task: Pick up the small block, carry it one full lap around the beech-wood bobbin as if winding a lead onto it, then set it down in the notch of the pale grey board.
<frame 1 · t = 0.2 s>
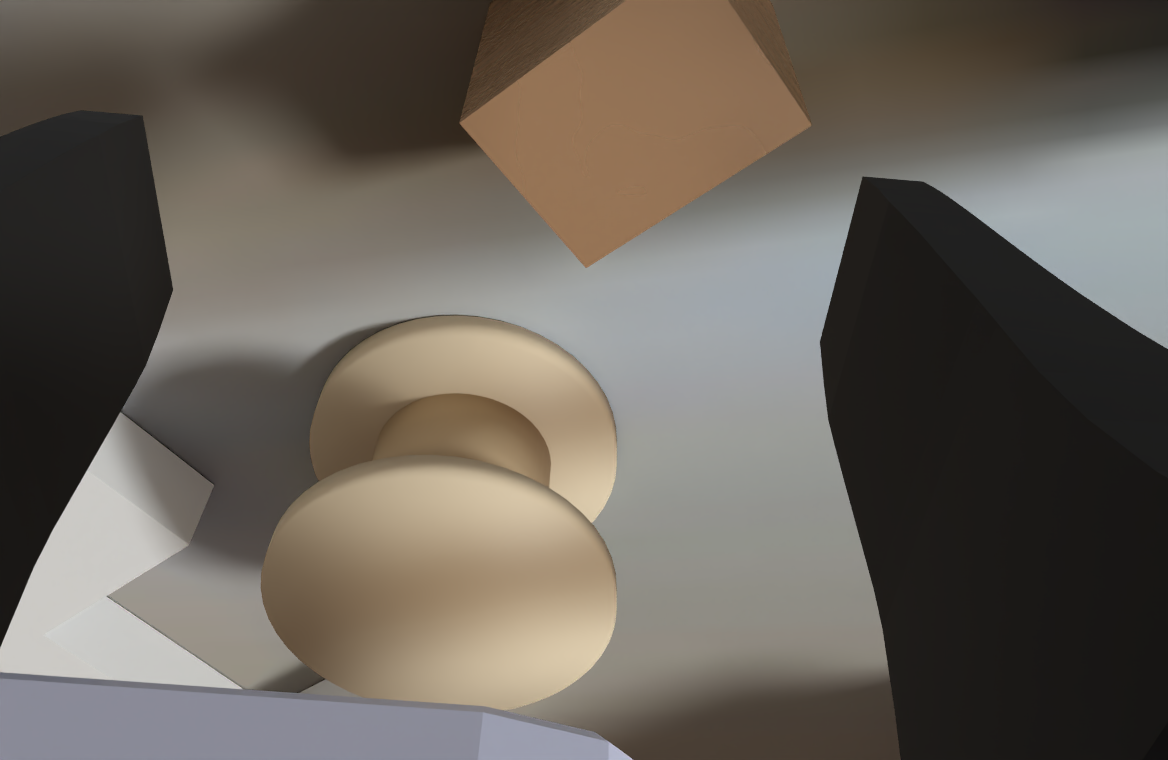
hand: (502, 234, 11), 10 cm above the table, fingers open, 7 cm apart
bobbin: (467, 438, 26), on the table
board: (241, 643, 31), on the table
block: (630, 3, 20), on the table
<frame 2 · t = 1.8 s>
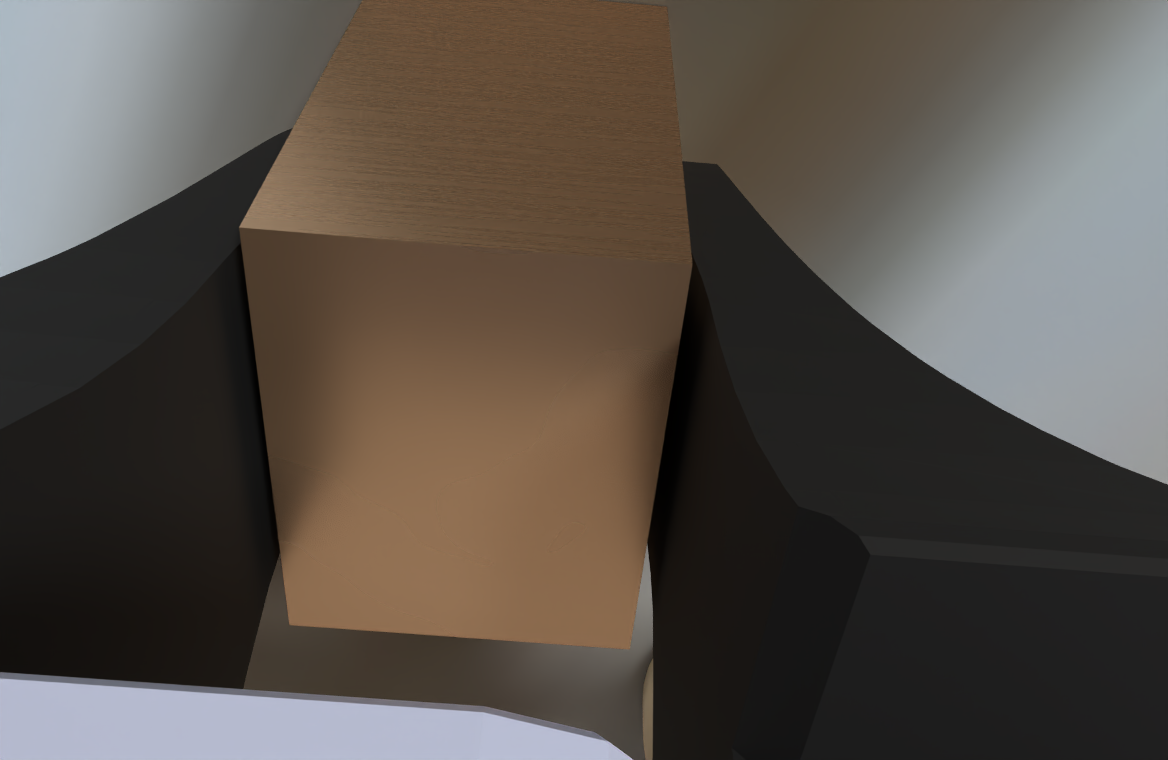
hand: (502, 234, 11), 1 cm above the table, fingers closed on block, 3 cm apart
bobbin: (856, 698, 18), on the table
block: (512, 171, 13), on the table, touching gripper
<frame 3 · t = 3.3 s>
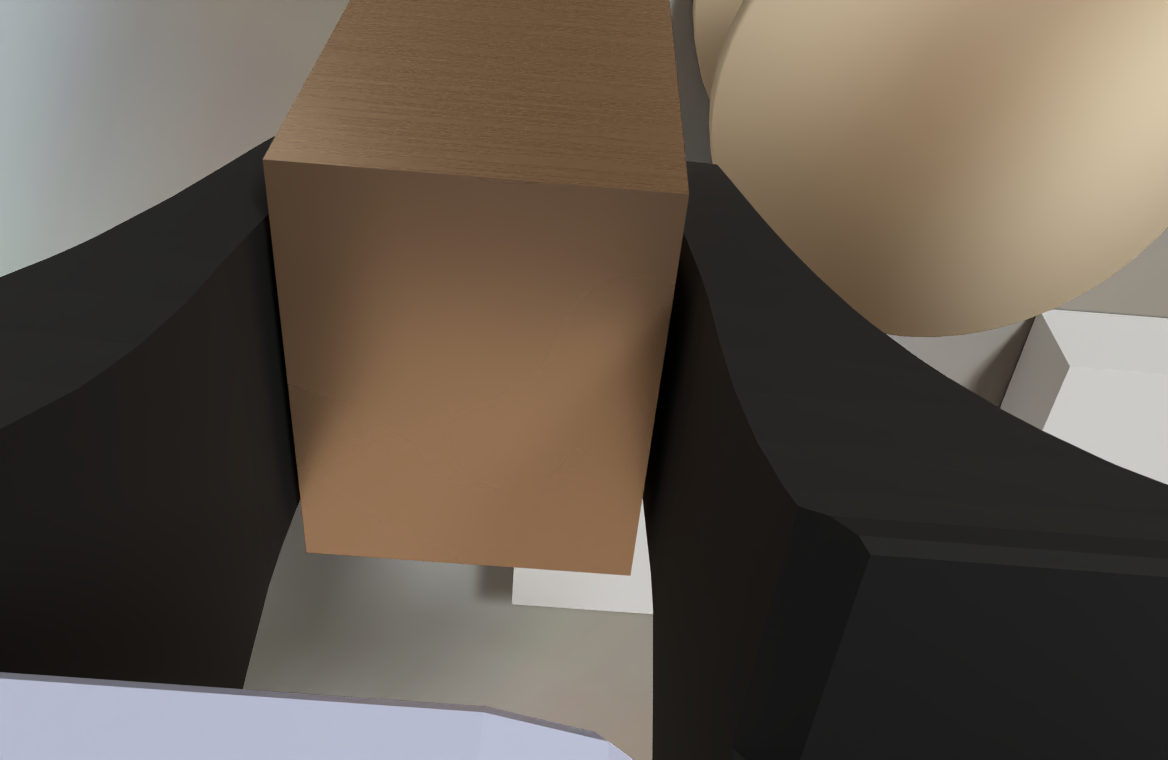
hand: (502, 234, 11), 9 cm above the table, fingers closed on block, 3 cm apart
bobbin: (895, 1, 19), on the table
board: (874, 444, 25), on the table
block: (517, 128, 13), point 7 cm above the table, touching gripper
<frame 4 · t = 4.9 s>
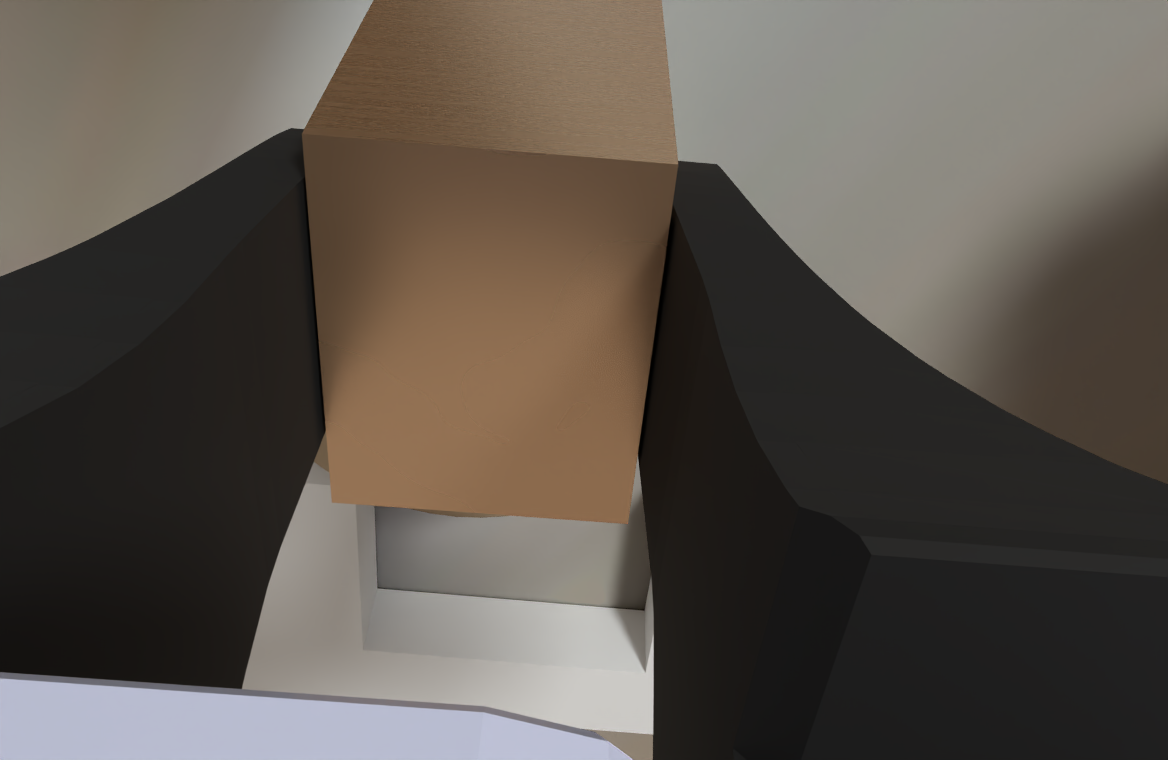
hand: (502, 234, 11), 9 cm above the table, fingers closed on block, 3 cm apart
bobbin: (490, 208, 22), on the table
board: (553, 563, 28), on the table
block: (522, 124, 14), point 6 cm above the table, touching gripper
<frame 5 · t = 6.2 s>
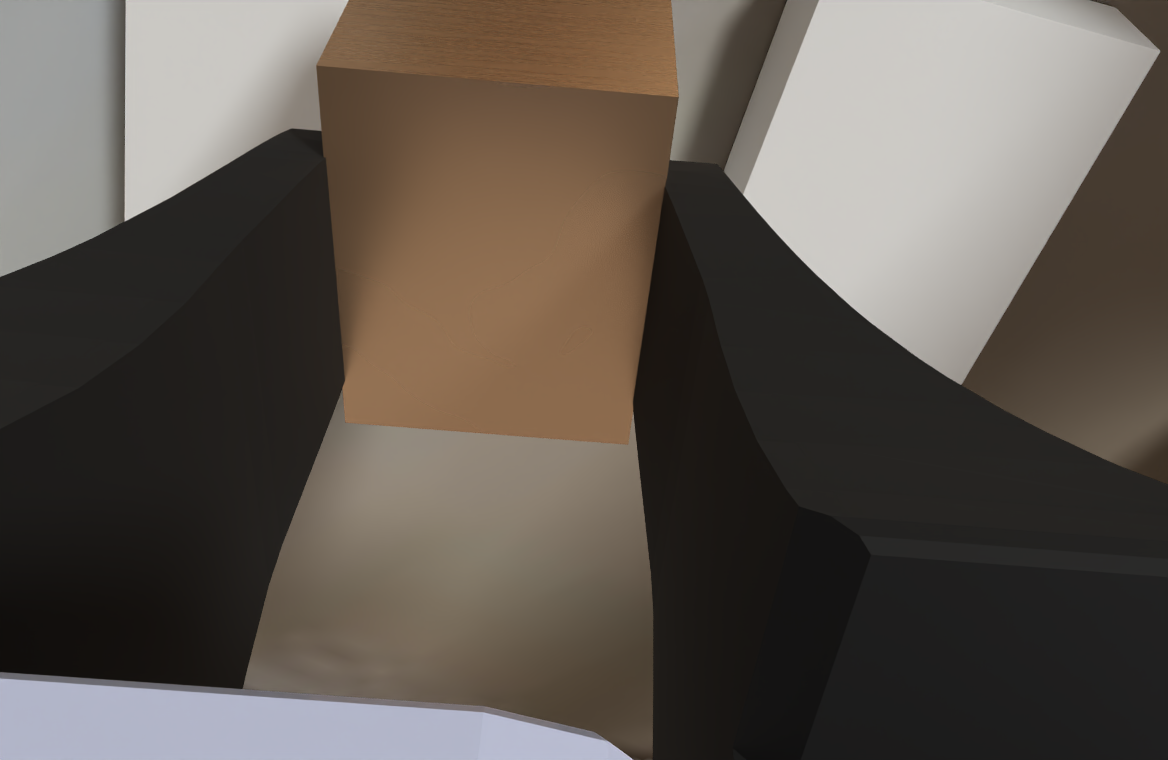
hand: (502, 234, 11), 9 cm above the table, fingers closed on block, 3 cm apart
board: (607, 104, 20), on the table
block: (528, 55, 14), point 5 cm above the table, touching gripper
when the fingers open (3 cm above the table, at t = 7.8 s): block stays where it is, on the table.
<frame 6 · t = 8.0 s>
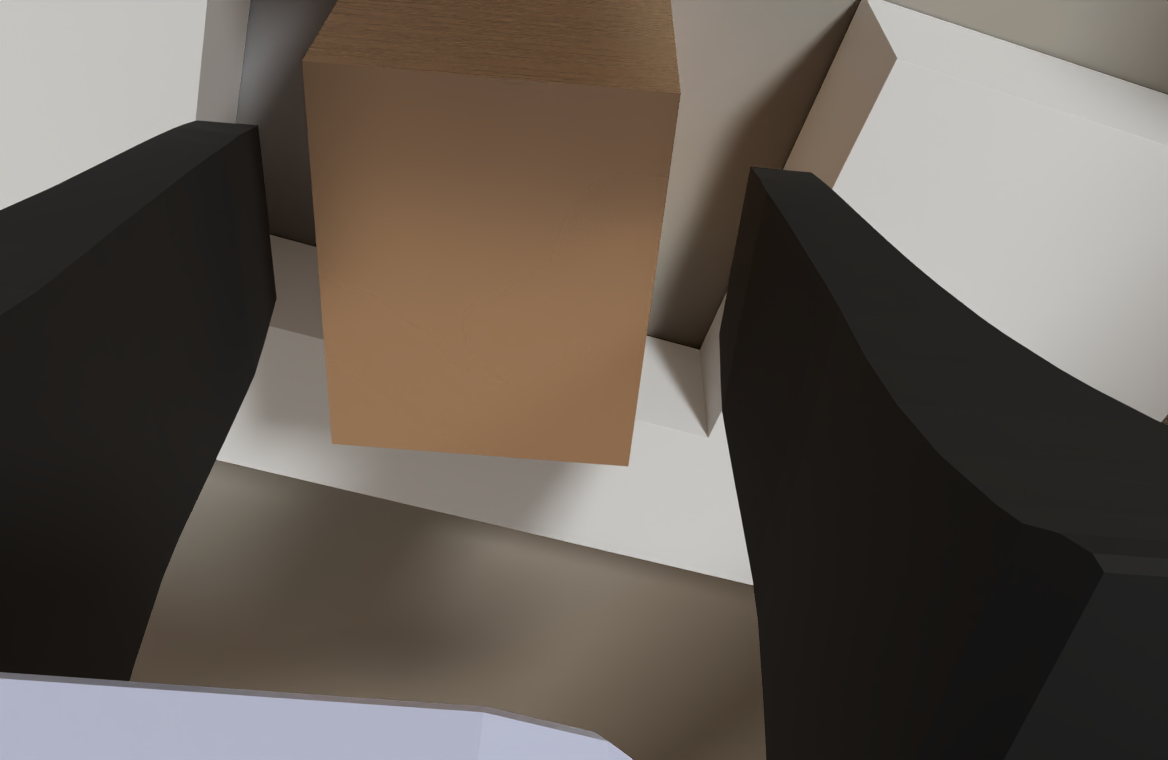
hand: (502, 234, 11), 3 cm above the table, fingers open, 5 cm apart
board: (566, 219, 15), on the table
block: (523, 73, 14), on the table
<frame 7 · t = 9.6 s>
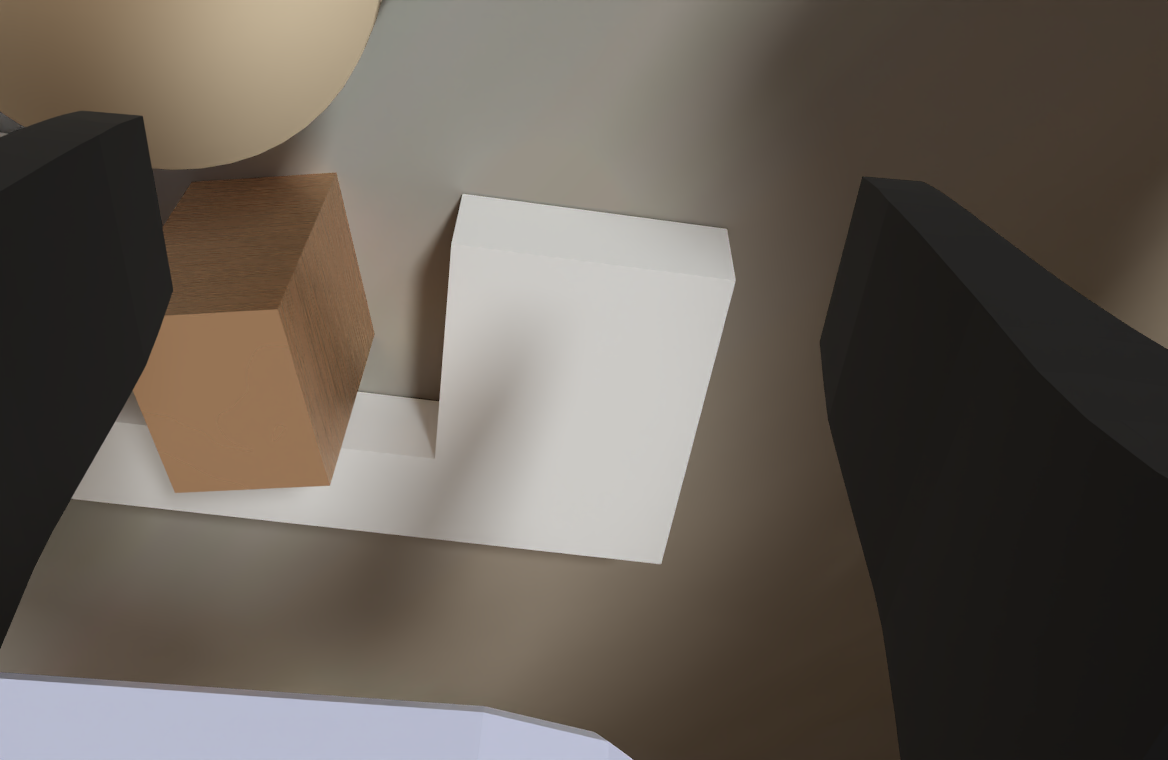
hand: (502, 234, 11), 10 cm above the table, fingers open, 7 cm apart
board: (338, 337, 25), on the table
block: (287, 261, 24), on the table
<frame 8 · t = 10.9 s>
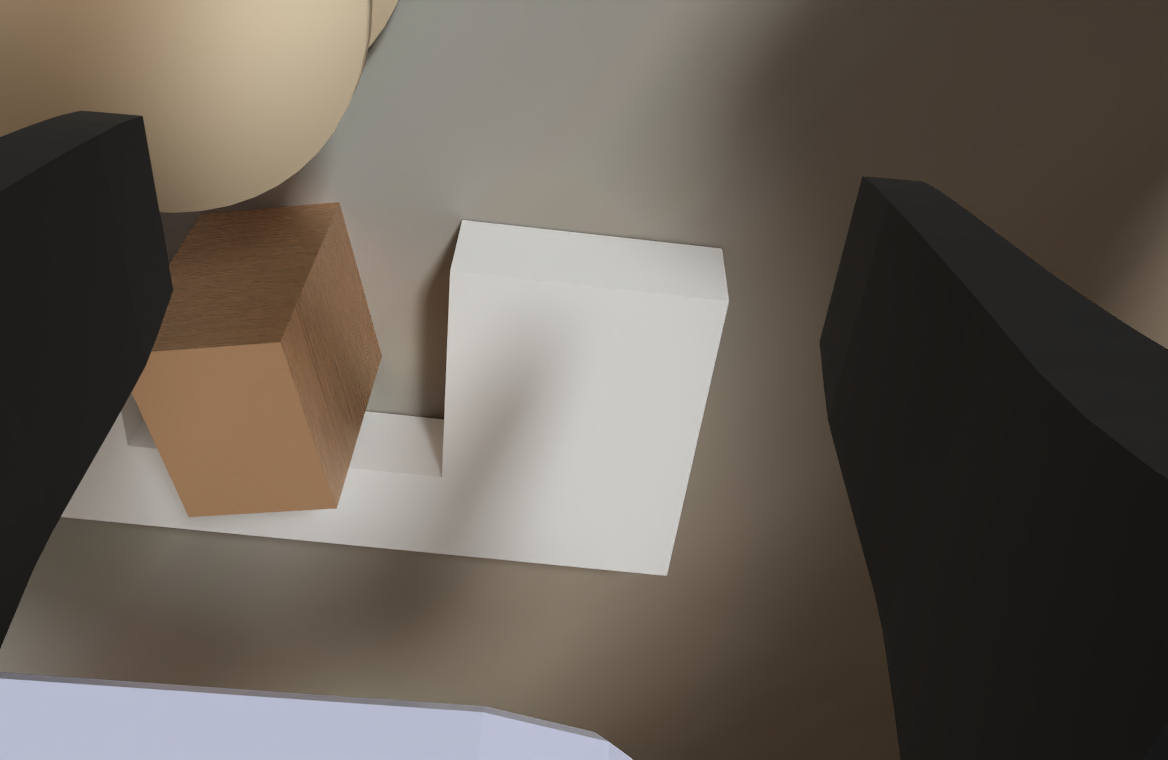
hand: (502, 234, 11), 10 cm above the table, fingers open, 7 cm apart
board: (346, 359, 26), on the table
block: (295, 287, 24), on the table
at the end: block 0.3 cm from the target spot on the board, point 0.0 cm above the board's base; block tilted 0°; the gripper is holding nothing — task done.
